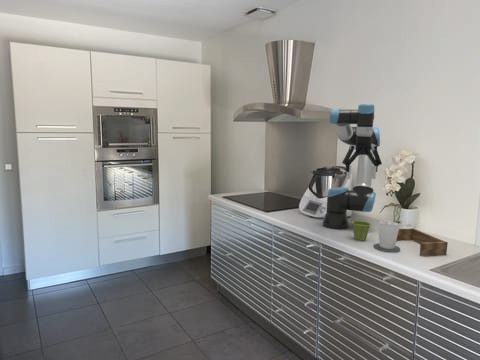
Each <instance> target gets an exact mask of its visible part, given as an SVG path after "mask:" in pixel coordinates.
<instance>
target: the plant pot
mask: <svg viewBox="0 0 480 360" xmlns="http://www.w3.org/2000/svg"><path fill="white" fill-rule="evenodd" d="M351 224H352V226H353V239H355V240H356V241H366V240H367V238H368V234H369V229H370V227H371V225H372V224H371V222H367V221H364V220H363V221H362V220H353V221H351Z"/></svg>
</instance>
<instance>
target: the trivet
mask: <svg viewBox="0 0 480 360" xmlns="http://www.w3.org/2000/svg"><path fill="white" fill-rule="evenodd" d="M373 248H374V249H375V250H378V251H380V252H386V253H399V252H400V251H401V248H400V247H399V246H397V245H395V247H394V249H385V248H382V247H380V244H379V243H375V244H373Z"/></svg>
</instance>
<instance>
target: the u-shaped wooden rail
mask: <svg viewBox="0 0 480 360" xmlns="http://www.w3.org/2000/svg"><path fill="white" fill-rule="evenodd" d="M397 241H413V242H415V243H417V244H419V245H420V246H419V247H420V248H419V257H427V256H447V252H448V242H447V241H445V240H443V239H440V238H438V237H435V236H432V235H431V234H428V233H425V232H423V231H421V230H418V229H415V228H399V231H398V235H397V239H396V242H397Z"/></svg>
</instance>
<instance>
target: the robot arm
mask: <svg viewBox="0 0 480 360" xmlns="http://www.w3.org/2000/svg"><path fill="white" fill-rule="evenodd" d="M328 118H329V124H332V125H335V127H336V129H337V131H336V135H337V137H338V138H337V139H339V141H341V142H342V143H344V144H345V145H349V147H348V150H347V152H346V154H345V156H344V157H343V160H342V162H341V164H342V165H345V172H346V179H348V180H351V177H352V176H351V175H352V165H351V164H353V162H354V161H355V160H356V158H358V159H357V167H356V168H357V169H356V170H357V171H356V180H355V185H354V186H353V187H352V190H350V189H349V188H348V187H347V186H341V187H340V186H338V187H332V188H329V189H328V191H327V195H326V212H325V215H324V218H323V220H322V226H323V227H324V228H327V229H333V230H346V229H348V228H349V225H350V222H349V220H348V219H349V218H348V213H347V212H348V211H353V212H363V213H370V212H372V211H373V209H374V205H375V200H376V196H377V193H376V192H375V191H374V188H373V187H372V181H373V180H376V175H377V172H378V167H379V166H380V165H383V162H382V161H381V157H380V155H379V152H378V147H380V145H381V140H380V139H381V137H380V136H381V135H380V129H379V128H378V127H375V126H374V120H375V105H374V104H373V103H359V104H358V109H341V108H340V109H339V108H338V109H331V110H330V111H329V117H328ZM351 125H356V126H351Z"/></svg>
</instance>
